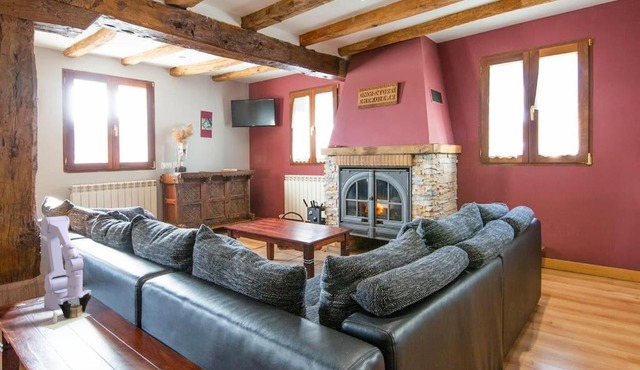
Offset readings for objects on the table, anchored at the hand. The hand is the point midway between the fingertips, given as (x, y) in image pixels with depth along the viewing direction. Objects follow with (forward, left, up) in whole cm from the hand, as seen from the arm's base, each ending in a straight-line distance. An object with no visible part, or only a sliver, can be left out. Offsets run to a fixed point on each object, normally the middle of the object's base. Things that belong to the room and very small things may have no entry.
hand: (74, 314), depth 172 cm
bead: (0, 0, 0) cm, 0 cm away
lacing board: (0, -4, -2) cm, 5 cm away
